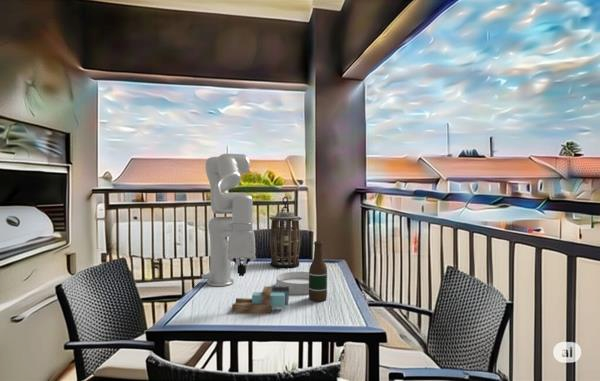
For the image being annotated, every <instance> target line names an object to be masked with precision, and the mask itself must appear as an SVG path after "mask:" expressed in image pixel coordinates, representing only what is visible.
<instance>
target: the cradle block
mask: <svg viewBox="0 0 600 381" xmlns="http://www.w3.org/2000/svg"><path fill="white" fill-rule="evenodd" d="M269 287H272V293H285V304H284V306H288V305H289V300H290V294H289V287H277V286H276V285H274V286H269Z"/></svg>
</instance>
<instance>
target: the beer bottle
mask: <svg viewBox="0 0 600 381" xmlns="http://www.w3.org/2000/svg"><path fill="white" fill-rule="evenodd" d="M323 244H324V242H323V241H321V240H315V241H314V243H313V245H314V250H313V251H314V252H313V261H312V262H311V264H310V266H309V270H308V272H309V294H308V300H310V301H311V302H315V303H316V302H318V303H319V302H320V303H321V302H326V301H327V298H328V269H327V268H328V267H327V265H326V263H325V261H324V258H323V257H324V256H323Z"/></svg>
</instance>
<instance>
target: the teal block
mask: <svg viewBox="0 0 600 381" xmlns="http://www.w3.org/2000/svg"><path fill="white" fill-rule="evenodd" d="M251 299H252V304H262V291H260V292H259V291H254V292H253V293H252V295H251ZM284 304H285V293H271V294H270V306H272V307H285V305H284Z"/></svg>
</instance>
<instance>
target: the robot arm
mask: <svg viewBox="0 0 600 381" xmlns="http://www.w3.org/2000/svg"><path fill="white" fill-rule="evenodd" d="M250 168H251V162H250V158H249V157H248V155H246V154H243V153H223V154H220V155H218V156H212V157H208V158H207V159H206V160H205V173H206V174H205V175H206V176H207V180H208V181H209V185H210V208H211V209H210V210H211V211H212V213H214V214H216V215H229V214H230V215H232V216H216V217H212V218H211V219H209V221H208V226H207V227H208V228H207V229H208V233H209V246H210V249H209V250H210V251H209V253H210V254H209V255H210V256H209V257H210V260H209V261H210V263H209V267H210V268H209V271H210V272H209V273H208V274H205V273H202V274H201V277H200V278H201V279H202V280H207V281H206V284H207V285H208V286H212V287H226V286H231V285H233V284H234V283H235V280H234V278H232V275H231V272H232V270H231V269H232V268H231V267H232V266H231V265H232V264H231V262H232V261H233V262H234V263H235V264H236V267H237V274H238V277H244V276H245V274H247V264H249V263H250V262H253V261H254V262H255V261H256V260H257V256H256V252H257V251H256V236H255V231H254V230H253V207H254V206H253V197H252V195H250V194H249V193H245V192H229V190H231V189H233V188H236V187H238V185H239V184H240V183H241V180H242V177H241V175H245V174H247V173H248V172H249V170H250ZM226 238H228V239H226ZM242 259H243V261H241V260H242Z"/></svg>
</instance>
